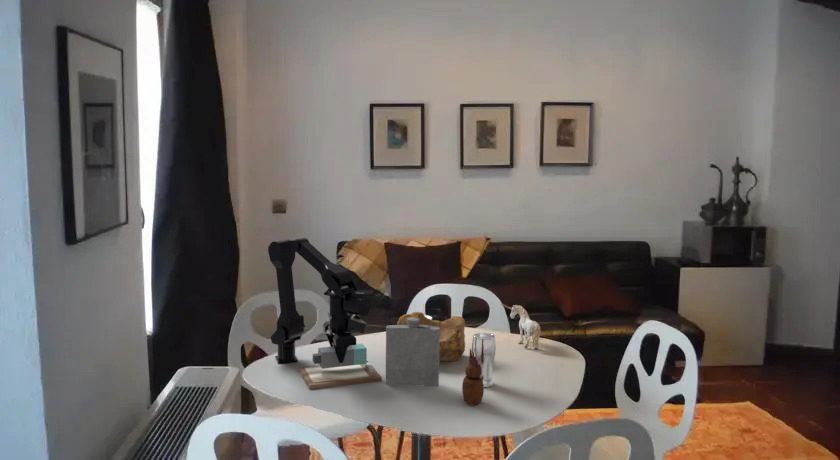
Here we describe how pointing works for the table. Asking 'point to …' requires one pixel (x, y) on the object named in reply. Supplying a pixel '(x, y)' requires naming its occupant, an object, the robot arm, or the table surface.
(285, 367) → the table surface
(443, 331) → the rough brown rock
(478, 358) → the beer glass
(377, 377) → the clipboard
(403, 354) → the hip flask
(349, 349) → the marker
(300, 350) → the table surface
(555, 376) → the table surface
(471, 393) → the wooden figurine
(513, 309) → the unicorn figurine
